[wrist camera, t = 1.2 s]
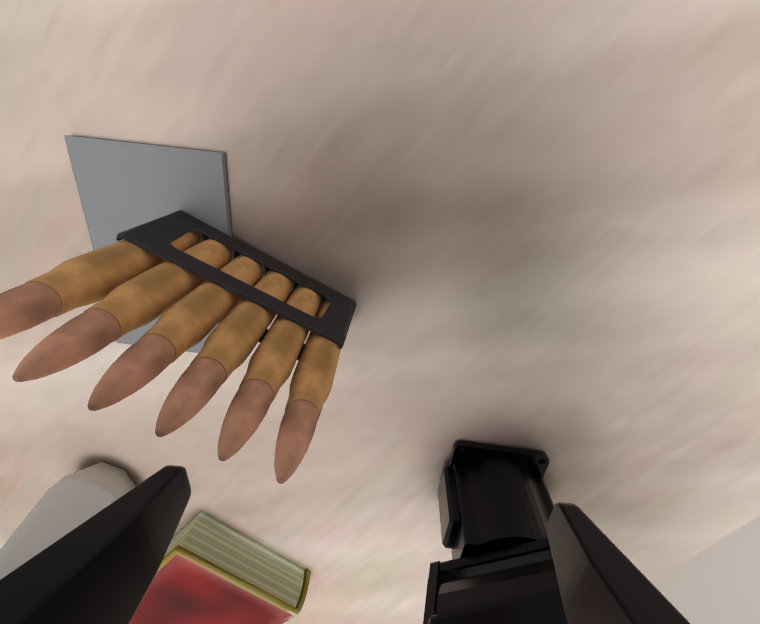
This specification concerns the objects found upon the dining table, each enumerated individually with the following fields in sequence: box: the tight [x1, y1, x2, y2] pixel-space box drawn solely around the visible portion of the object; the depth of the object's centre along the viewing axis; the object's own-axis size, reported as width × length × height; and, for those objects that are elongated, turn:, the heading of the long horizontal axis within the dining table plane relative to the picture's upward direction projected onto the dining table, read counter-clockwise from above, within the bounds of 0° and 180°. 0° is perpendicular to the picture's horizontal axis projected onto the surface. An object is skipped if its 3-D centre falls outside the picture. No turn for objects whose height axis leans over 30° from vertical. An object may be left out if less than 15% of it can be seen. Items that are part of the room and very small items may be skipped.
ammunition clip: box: [0, 210, 356, 484], centre depth 15 cm, size 11×2×12 cm, turn 60°
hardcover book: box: [129, 511, 310, 624], centre depth 33 cm, size 12×21×4 cm, turn 139°
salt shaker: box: [0, 462, 135, 579], centre depth 23 cm, size 6×6×13 cm
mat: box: [64, 135, 233, 353], centre depth 20 cm, size 8×12×1 cm, turn 174°
